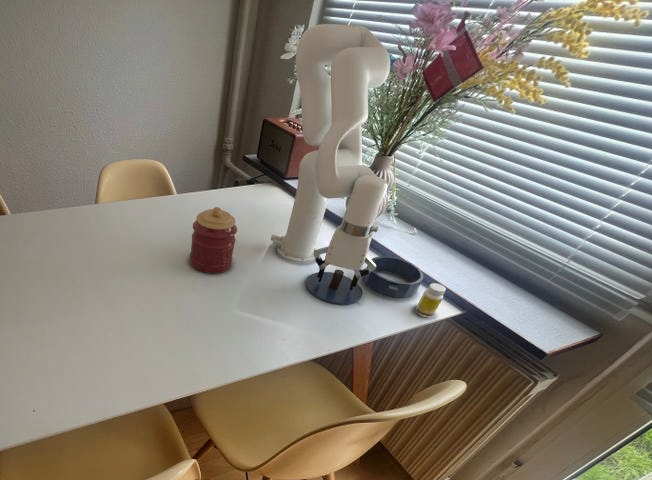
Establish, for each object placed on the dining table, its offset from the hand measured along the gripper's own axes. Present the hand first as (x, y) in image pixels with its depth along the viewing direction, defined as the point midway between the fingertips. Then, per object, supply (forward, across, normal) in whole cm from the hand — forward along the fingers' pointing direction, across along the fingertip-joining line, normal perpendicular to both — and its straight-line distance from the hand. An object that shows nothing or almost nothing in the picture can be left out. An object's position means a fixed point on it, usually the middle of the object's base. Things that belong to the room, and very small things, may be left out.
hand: (335, 283), depth 123 cm
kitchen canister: (+2, +37, +3) cm, 37 cm away
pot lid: (+2, 0, 0) cm, 2 cm away
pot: (+2, -15, -11) cm, 19 cm away
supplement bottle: (+3, -25, -1) cm, 25 cm away
